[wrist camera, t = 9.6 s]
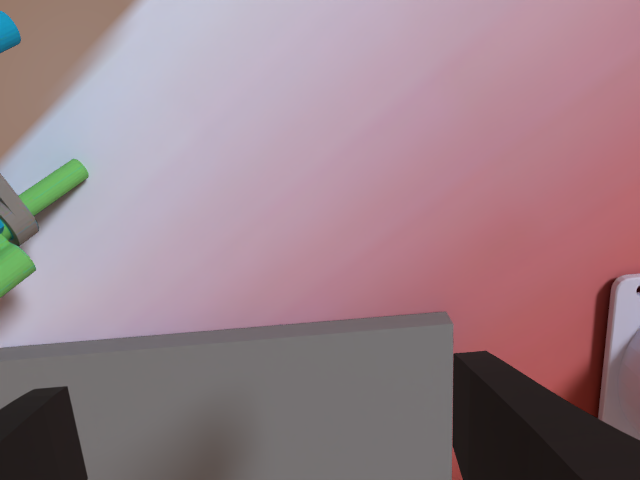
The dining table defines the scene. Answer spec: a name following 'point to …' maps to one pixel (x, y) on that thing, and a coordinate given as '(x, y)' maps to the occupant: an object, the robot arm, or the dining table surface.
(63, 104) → the dining table surface
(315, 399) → the board
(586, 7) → the dining table surface
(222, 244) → the dining table surface
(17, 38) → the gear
